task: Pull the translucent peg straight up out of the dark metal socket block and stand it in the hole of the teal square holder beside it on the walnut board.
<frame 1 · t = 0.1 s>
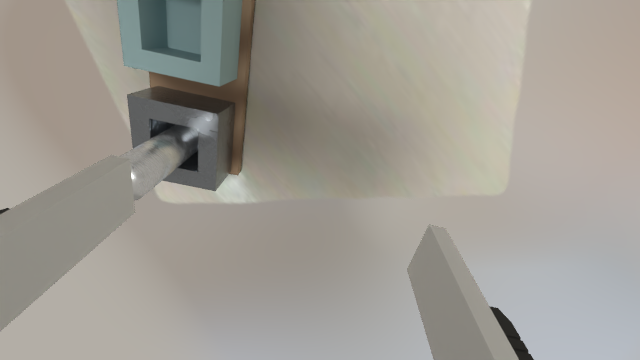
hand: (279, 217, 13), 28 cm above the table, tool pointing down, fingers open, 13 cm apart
tool board: (202, 80, 37), on the table
teal square holder: (197, 24, 33), resting on tool board
socket block: (196, 131, 39), resting on tool board
translucent peg: (193, 133, 38), point 2 cm above the table, touching socket block
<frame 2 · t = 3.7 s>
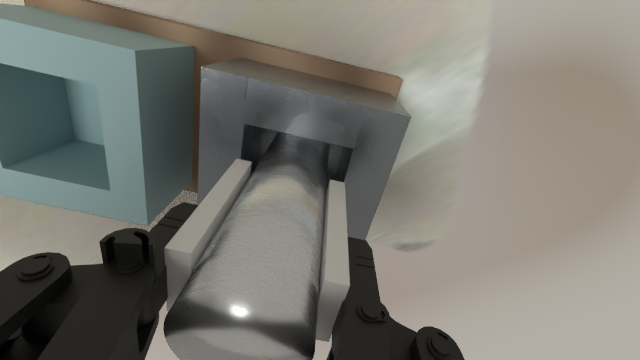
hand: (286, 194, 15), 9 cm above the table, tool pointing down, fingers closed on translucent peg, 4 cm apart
tool board: (221, 120, 22), on the table
teal square holder: (122, 104, 20), resting on tool board
socket block: (302, 145, 21), resting on tool board
translucent peg: (300, 150, 20), point 3 cm above the table, touching gripper, socket block
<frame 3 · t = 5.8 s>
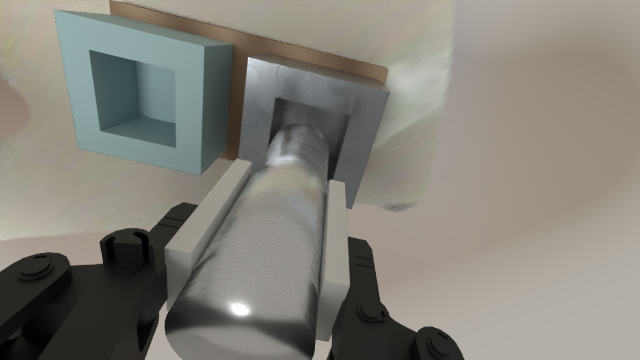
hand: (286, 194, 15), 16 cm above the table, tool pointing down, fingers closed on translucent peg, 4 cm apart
tool board: (249, 101, 28), on the table
teal square holder: (176, 88, 27), resting on tool board
socket block: (312, 120, 27), resting on tool board
translucent peg: (300, 150, 20), point 10 cm above the table, touching gripper
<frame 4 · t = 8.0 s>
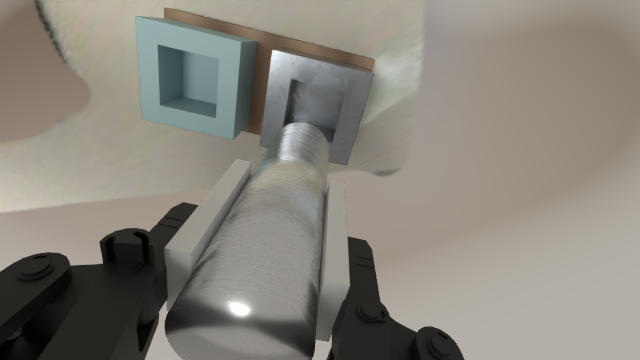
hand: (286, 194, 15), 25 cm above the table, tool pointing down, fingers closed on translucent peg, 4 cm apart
tool board: (267, 86, 36), on the table
teal square holder: (211, 75, 34), resting on tool board
socket block: (316, 100, 35), resting on tool board
translucent peg: (300, 150, 20), point 18 cm above the table, touching gripper
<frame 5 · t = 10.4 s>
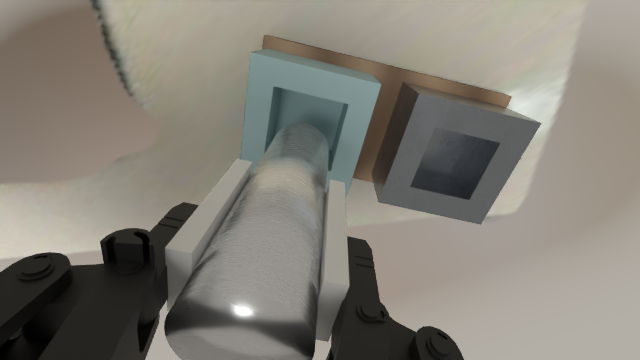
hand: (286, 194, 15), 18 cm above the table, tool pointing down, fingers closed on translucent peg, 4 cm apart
tool board: (370, 123, 31), on the table
teal square holder: (309, 113, 29), resting on tool board
socket block: (432, 142, 30), resting on tool board
translucent peg: (300, 150, 20), point 12 cm above the table, touching gripper
when the fingers open (10 cm above the table, at t = 12.4 s): translucent peg drops 2 cm, resting on teal square holder.
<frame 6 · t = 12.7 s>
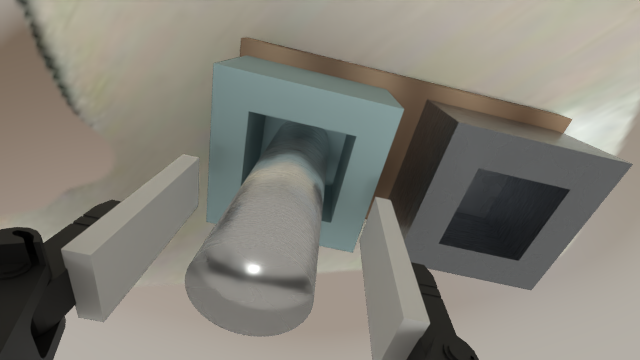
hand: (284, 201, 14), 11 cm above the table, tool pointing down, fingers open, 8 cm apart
tool board: (381, 150, 24), on the table
teal square holder: (304, 138, 22), resting on tool board
socket block: (462, 175, 23), resting on tool board
translucent peg: (302, 143, 21), point 3 cm above the table, touching teal square holder
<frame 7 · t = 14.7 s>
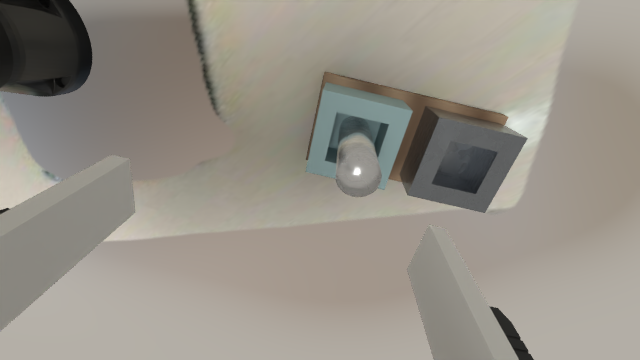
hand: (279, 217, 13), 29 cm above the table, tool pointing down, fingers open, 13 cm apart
tool board: (399, 136, 40), on the table
teal square holder: (354, 128, 38), resting on tool board
socket block: (447, 150, 39), resting on tool board
translucent peg: (354, 130, 37), point 3 cm above the table, touching teal square holder
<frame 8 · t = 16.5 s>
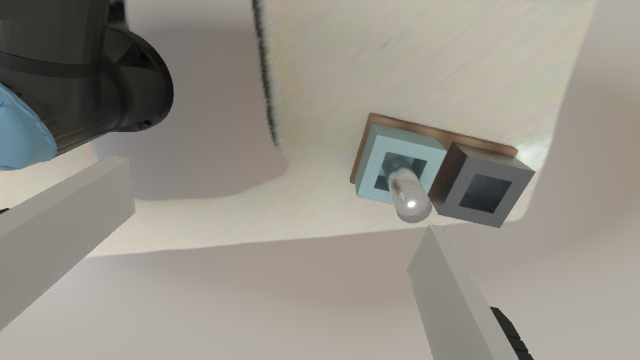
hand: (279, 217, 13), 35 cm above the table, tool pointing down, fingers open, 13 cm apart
tool board: (428, 163, 48), on the table
teal square holder: (392, 158, 47), resting on tool board
socket block: (468, 176, 47), resting on tool board
translucent peg: (393, 161, 46), point 3 cm above the table, touching teal square holder
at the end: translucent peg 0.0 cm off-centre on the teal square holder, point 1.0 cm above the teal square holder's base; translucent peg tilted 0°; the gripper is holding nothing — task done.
